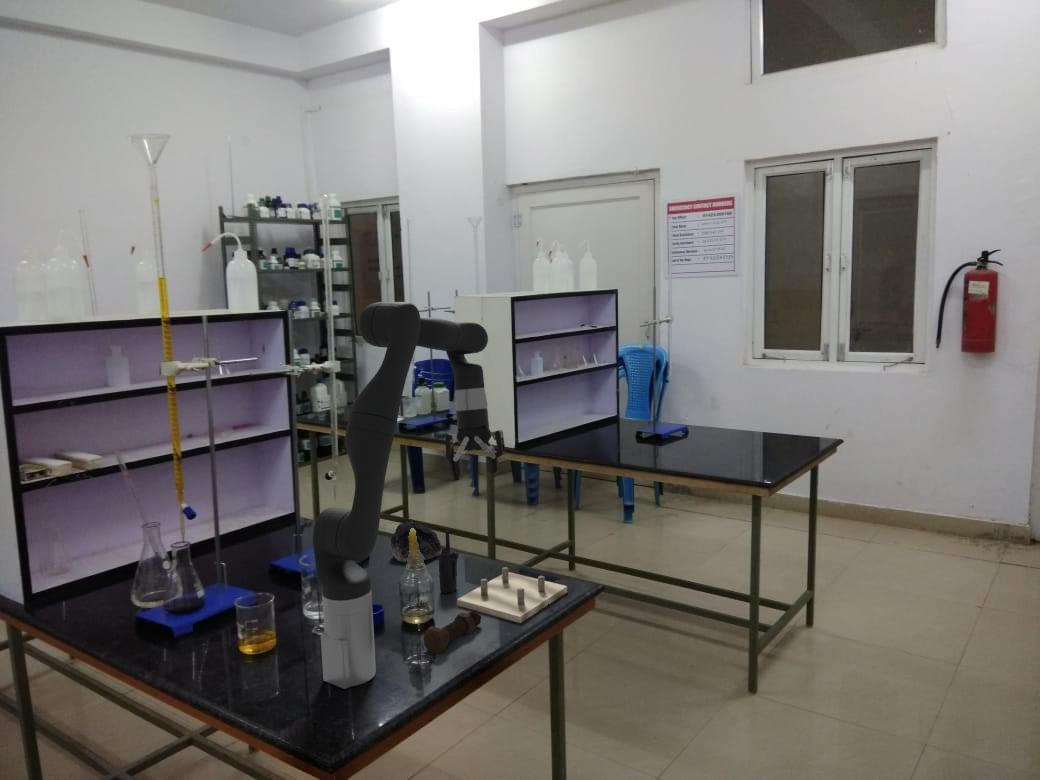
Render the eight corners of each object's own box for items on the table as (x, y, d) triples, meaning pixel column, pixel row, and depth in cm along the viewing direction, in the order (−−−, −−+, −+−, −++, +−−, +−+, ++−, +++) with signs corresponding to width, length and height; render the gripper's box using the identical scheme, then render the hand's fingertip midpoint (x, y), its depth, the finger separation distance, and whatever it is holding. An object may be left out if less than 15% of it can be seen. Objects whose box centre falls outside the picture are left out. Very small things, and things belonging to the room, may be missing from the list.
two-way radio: (447, 585, 193) (444, 527, 191) (463, 587, 192) (461, 528, 189) (437, 593, 188) (435, 534, 186) (454, 595, 186) (452, 536, 184)
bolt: (479, 634, 170) (435, 660, 158) (463, 618, 173) (419, 643, 160) (490, 615, 168) (446, 640, 156) (473, 599, 170) (429, 623, 158)
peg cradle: (520, 623, 171) (519, 601, 170) (457, 605, 181) (456, 585, 180) (567, 592, 187) (566, 572, 186) (506, 577, 197) (506, 558, 196)
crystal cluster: (448, 561, 211) (448, 525, 211) (400, 566, 205) (401, 529, 205) (430, 550, 223) (431, 516, 223) (385, 555, 217) (386, 520, 217)
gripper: (438, 411, 182) (444, 479, 182) (495, 406, 178) (501, 476, 178) (449, 409, 189) (455, 475, 189) (504, 404, 186) (510, 472, 186)
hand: (477, 475), depth 184 cm, fingers open, 8 cm apart
